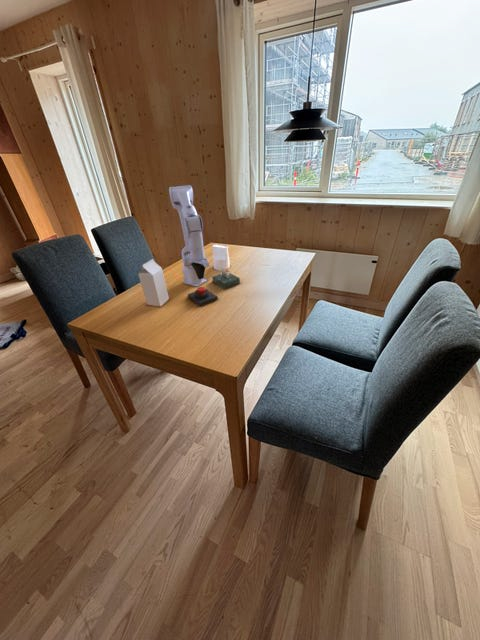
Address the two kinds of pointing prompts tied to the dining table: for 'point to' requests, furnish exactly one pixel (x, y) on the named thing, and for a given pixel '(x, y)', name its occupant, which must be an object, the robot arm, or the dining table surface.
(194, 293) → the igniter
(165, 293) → the milk carton
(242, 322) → the dining table surface
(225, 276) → the hob knob
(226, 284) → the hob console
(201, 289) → the button
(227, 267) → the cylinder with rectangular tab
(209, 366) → the dining table surface
